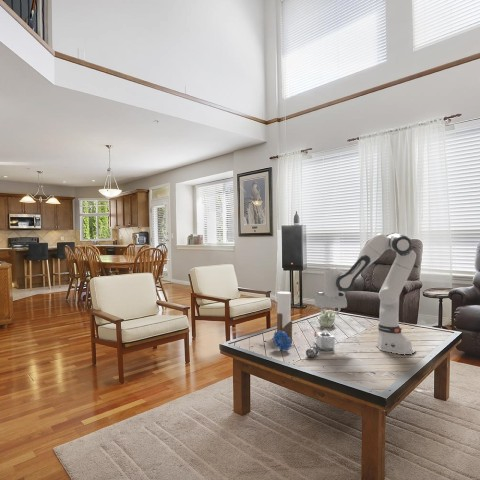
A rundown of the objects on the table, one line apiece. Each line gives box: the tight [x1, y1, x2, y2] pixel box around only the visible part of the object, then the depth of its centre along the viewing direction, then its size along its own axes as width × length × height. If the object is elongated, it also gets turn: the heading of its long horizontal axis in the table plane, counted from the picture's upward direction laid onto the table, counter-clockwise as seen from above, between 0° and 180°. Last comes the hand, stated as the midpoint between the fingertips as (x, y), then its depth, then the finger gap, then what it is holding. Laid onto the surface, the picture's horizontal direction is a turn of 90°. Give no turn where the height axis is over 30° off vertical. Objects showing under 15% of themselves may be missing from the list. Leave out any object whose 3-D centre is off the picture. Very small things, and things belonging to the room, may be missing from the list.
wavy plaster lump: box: [317, 308, 336, 328], centre depth 272 cm, size 18×13×16 cm
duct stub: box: [305, 346, 319, 359], centre depth 202 cm, size 6×5×5 cm
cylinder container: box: [276, 291, 292, 333], centre depth 247 cm, size 9×9×30 cm
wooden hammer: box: [276, 312, 293, 344], centre depth 230 cm, size 4×11×18 cm, turn 48°
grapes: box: [272, 330, 292, 351], centre depth 212 cm, size 12×7×12 cm, turn 66°
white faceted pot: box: [316, 332, 335, 352], centre depth 217 cm, size 10×10×9 cm
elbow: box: [314, 330, 336, 349], centre depth 222 cm, size 18×8×7 cm, turn 8°
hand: (330, 314), depth 225 cm, fingers open, 7 cm apart
